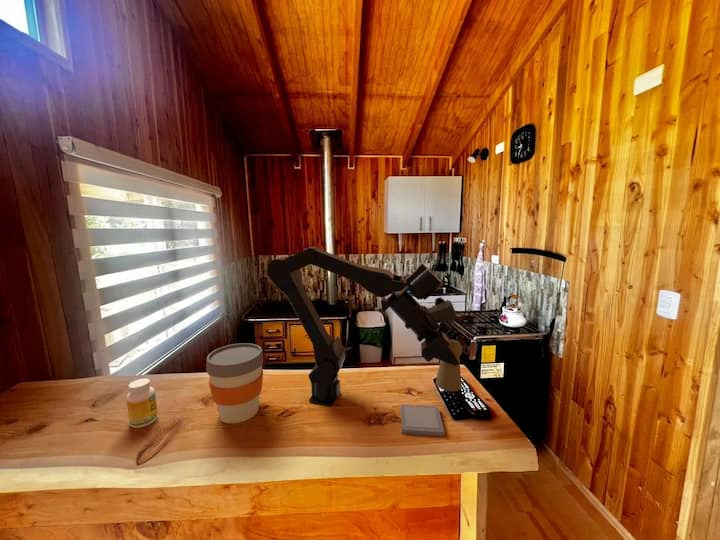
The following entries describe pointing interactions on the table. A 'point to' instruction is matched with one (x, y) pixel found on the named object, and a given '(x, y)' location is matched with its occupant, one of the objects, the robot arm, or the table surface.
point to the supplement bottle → (141, 403)
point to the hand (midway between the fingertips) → (455, 359)
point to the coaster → (421, 420)
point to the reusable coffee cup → (236, 380)
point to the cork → (450, 370)
